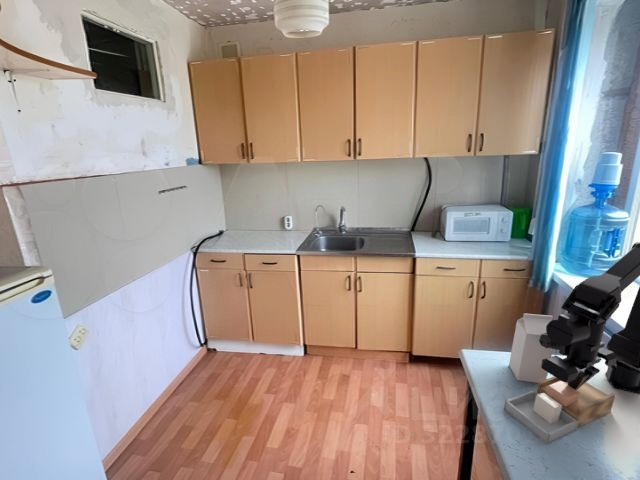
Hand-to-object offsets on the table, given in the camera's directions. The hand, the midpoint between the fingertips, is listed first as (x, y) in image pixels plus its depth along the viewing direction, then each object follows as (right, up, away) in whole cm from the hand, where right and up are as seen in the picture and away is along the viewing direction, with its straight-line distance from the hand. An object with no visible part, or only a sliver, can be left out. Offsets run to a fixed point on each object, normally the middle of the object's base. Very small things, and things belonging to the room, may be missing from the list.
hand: (571, 390), depth 83 cm
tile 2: (-3, -1, -1) cm, 3 cm away
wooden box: (+1, -5, +2) cm, 5 cm away
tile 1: (-7, -3, -2) cm, 8 cm away
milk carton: (-3, -1, +13) cm, 14 cm away
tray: (-10, -6, -2) cm, 12 cm away
